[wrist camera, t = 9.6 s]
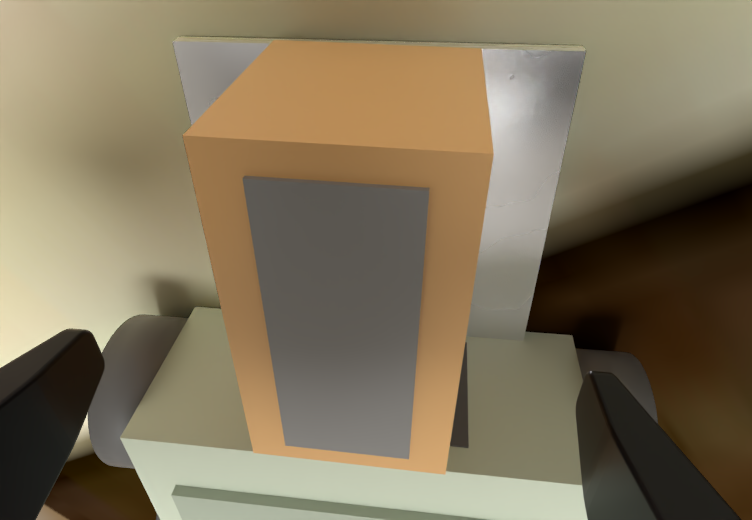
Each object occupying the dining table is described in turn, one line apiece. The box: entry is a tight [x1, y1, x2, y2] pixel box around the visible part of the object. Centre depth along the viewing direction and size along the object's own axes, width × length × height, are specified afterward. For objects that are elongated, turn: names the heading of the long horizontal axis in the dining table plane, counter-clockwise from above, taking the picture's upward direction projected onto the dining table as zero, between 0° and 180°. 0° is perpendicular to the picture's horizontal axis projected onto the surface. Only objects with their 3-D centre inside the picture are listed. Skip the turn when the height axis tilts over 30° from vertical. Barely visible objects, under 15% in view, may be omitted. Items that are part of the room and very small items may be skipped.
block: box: [182, 40, 494, 475], centre depth 12 cm, size 8×4×5 cm, turn 0°
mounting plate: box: [172, 36, 586, 341], centre depth 14 cm, size 9×8×1 cm
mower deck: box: [88, 307, 658, 520], centre depth 18 cm, size 15×12×5 cm
